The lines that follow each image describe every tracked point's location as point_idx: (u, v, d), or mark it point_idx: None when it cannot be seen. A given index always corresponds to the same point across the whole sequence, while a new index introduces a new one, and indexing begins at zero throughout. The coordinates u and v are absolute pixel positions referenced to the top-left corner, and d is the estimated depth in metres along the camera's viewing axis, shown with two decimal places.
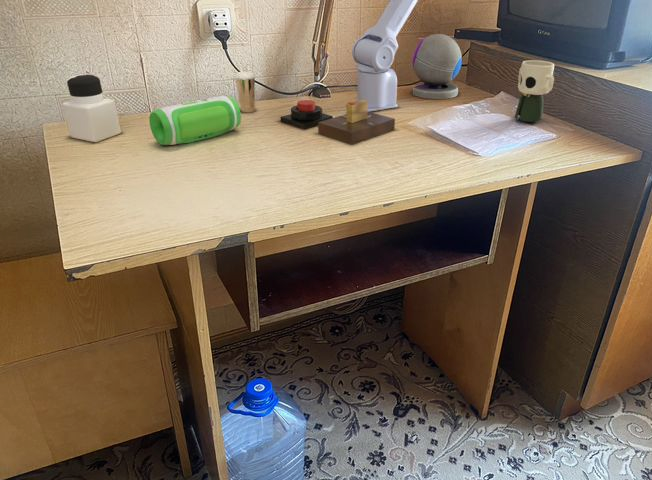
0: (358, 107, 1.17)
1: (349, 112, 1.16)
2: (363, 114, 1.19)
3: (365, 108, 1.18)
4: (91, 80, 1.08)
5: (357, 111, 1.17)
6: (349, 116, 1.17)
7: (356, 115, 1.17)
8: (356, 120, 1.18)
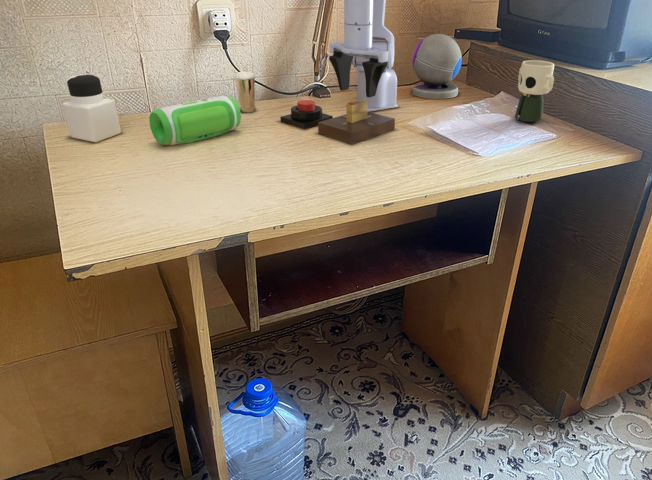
0: (358, 107, 1.17)
1: (349, 112, 1.16)
2: (363, 114, 1.19)
3: (365, 108, 1.18)
4: (91, 80, 1.08)
5: (357, 111, 1.17)
6: (349, 116, 1.17)
7: (356, 115, 1.17)
8: (356, 120, 1.18)
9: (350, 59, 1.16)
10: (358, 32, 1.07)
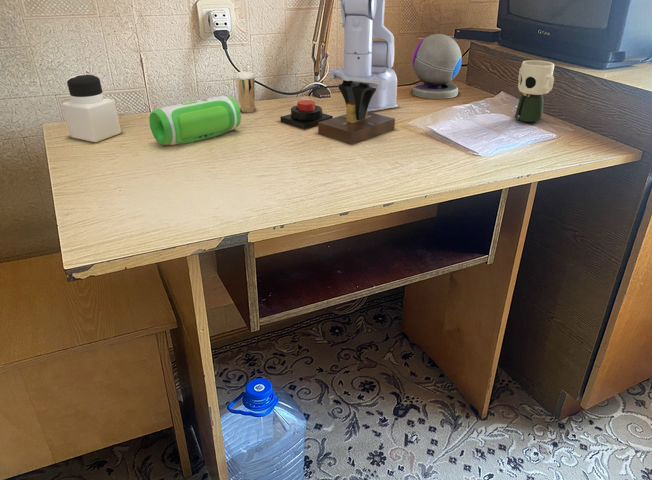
0: None
1: (349, 112, 1.16)
2: None
3: None
4: (91, 80, 1.08)
5: None
6: (349, 116, 1.17)
7: None
8: (356, 120, 1.18)
9: None
10: (357, 61, 1.10)
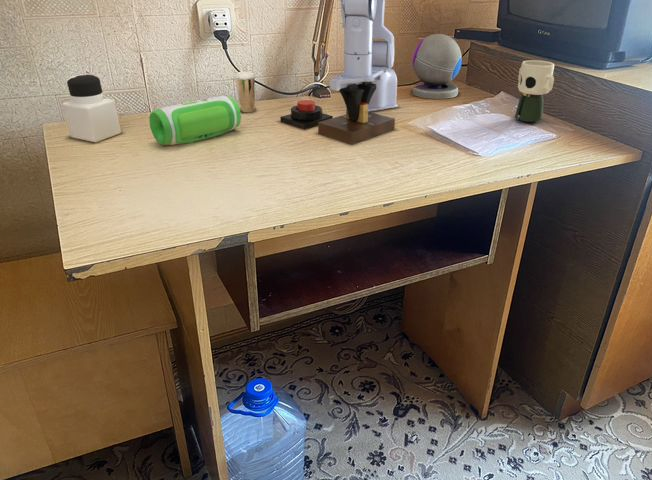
0: None
1: (365, 112, 1.16)
2: None
3: None
4: (91, 80, 1.08)
5: None
6: (365, 116, 1.17)
7: None
8: None
9: None
10: (371, 59, 1.12)
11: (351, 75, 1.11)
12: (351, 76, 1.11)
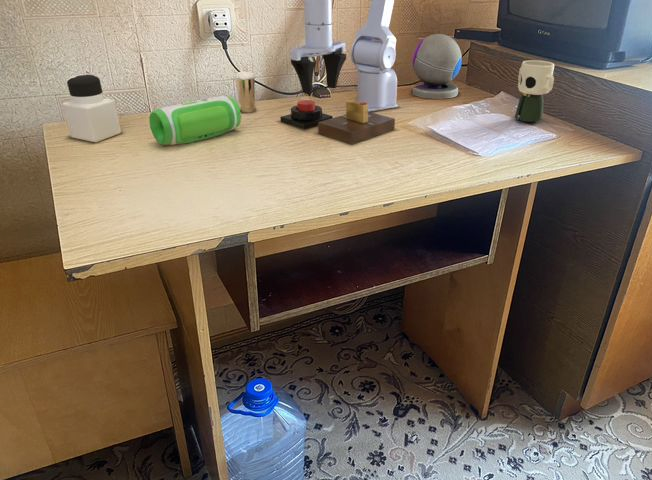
0: None
1: (365, 112, 1.16)
2: None
3: None
4: (91, 80, 1.08)
5: None
6: (365, 116, 1.17)
7: None
8: None
9: None
10: None
11: (312, 46, 1.13)
12: (312, 47, 1.13)
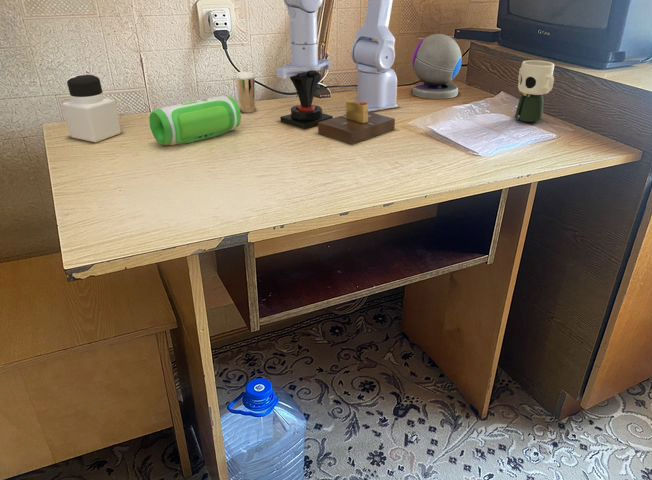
0: None
1: (365, 112, 1.16)
2: None
3: None
4: (91, 80, 1.08)
5: None
6: (365, 116, 1.17)
7: None
8: None
9: None
10: (317, 49, 1.18)
11: (297, 64, 1.17)
12: (298, 65, 1.17)
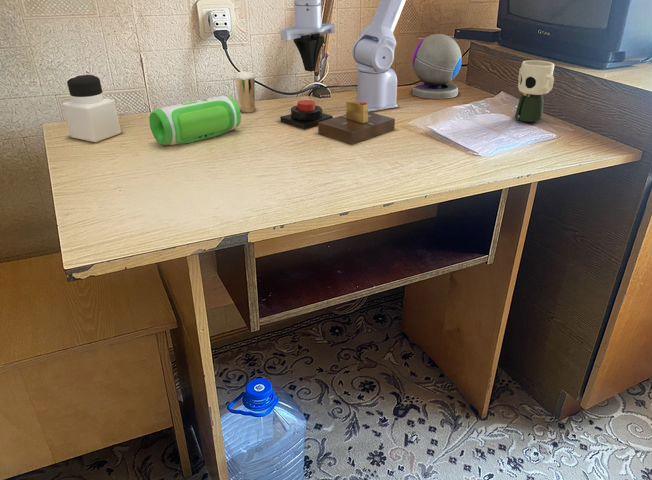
0: None
1: (365, 112, 1.16)
2: None
3: None
4: (91, 80, 1.08)
5: None
6: (365, 116, 1.17)
7: None
8: None
9: None
10: None
11: (301, 26, 1.17)
12: (301, 27, 1.17)
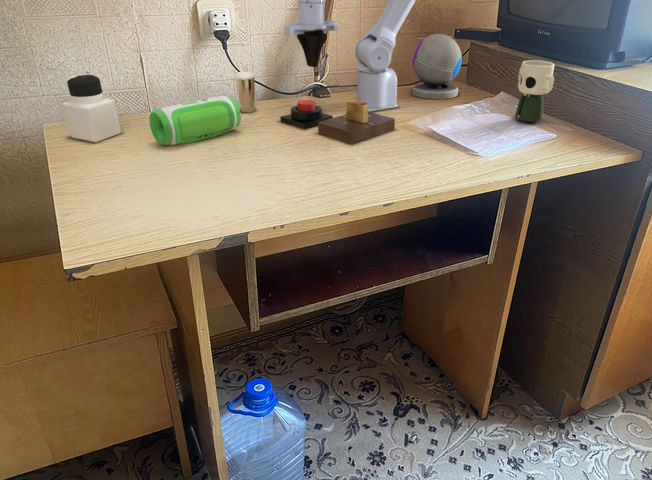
0: None
1: (365, 112, 1.16)
2: None
3: None
4: (91, 80, 1.08)
5: None
6: (365, 116, 1.17)
7: None
8: None
9: None
10: None
11: (305, 23, 1.21)
12: (305, 23, 1.21)
